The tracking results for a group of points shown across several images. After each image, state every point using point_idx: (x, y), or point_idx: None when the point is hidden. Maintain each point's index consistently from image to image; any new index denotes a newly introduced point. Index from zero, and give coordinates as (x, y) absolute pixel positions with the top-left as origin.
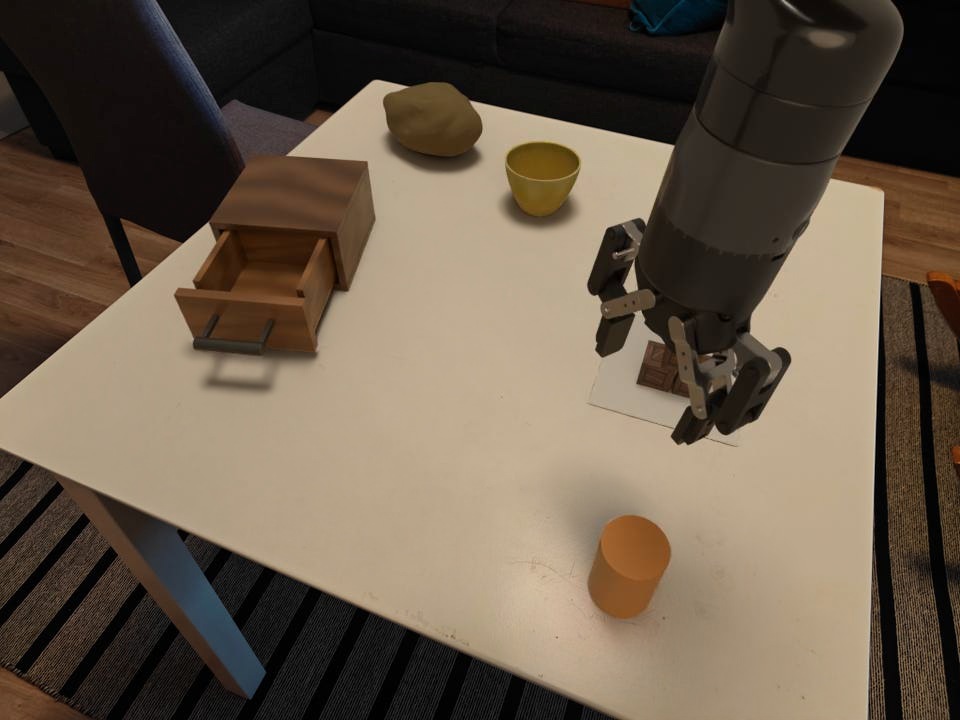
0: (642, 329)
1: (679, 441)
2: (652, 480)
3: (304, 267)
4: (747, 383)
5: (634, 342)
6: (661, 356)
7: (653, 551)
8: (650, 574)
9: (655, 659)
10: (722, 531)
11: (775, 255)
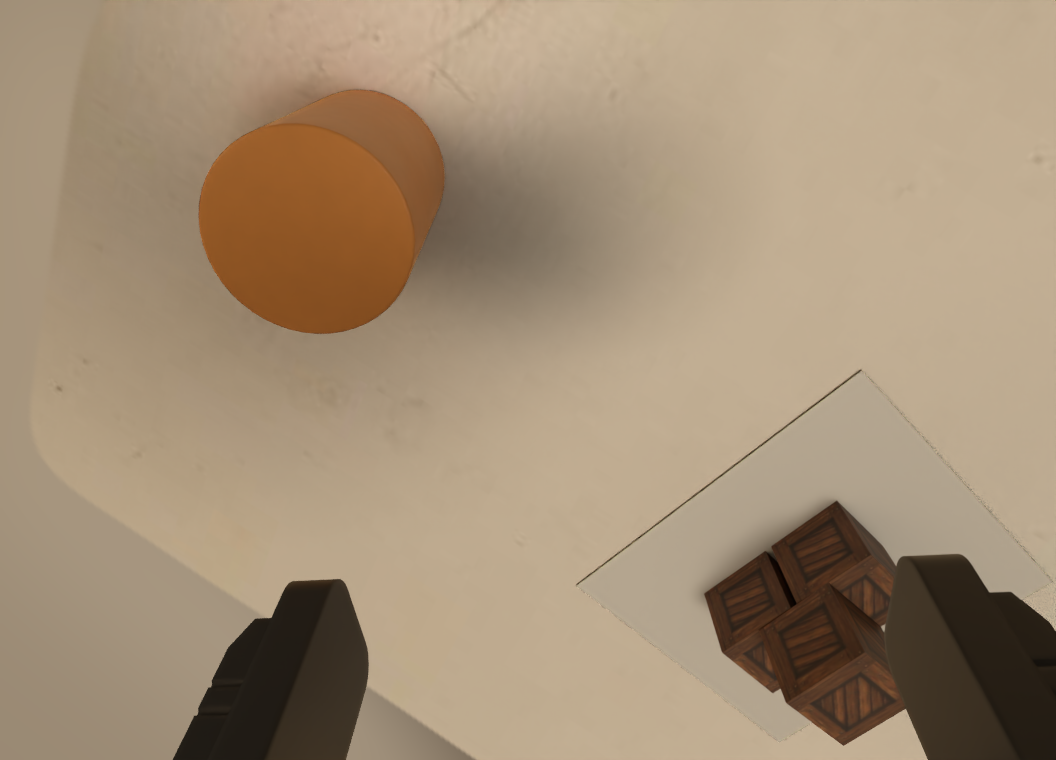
0: None
1: (280, 604)
2: (585, 393)
3: None
4: None
5: None
6: (856, 600)
7: (275, 274)
8: (211, 227)
9: (184, 159)
10: (412, 453)
11: None
